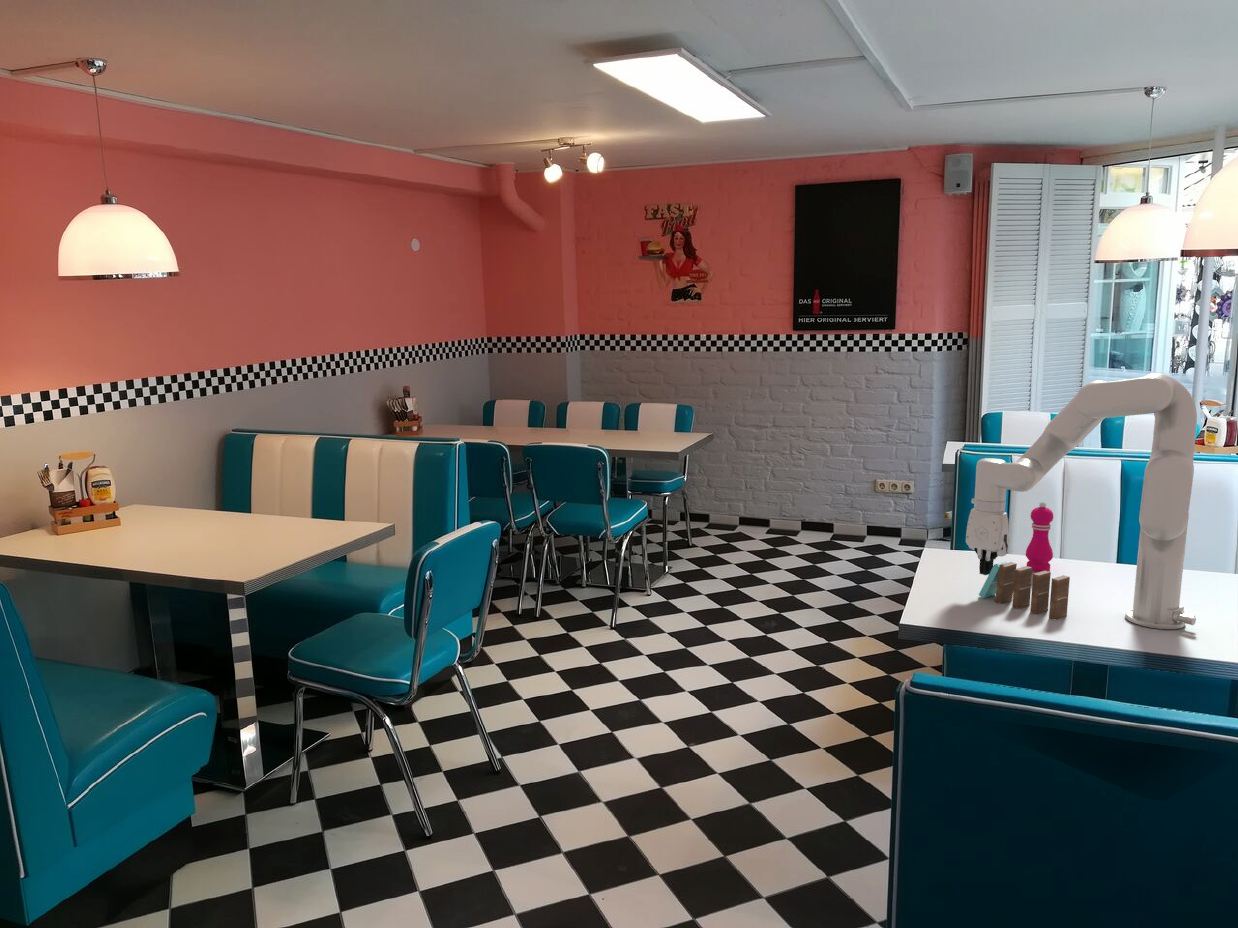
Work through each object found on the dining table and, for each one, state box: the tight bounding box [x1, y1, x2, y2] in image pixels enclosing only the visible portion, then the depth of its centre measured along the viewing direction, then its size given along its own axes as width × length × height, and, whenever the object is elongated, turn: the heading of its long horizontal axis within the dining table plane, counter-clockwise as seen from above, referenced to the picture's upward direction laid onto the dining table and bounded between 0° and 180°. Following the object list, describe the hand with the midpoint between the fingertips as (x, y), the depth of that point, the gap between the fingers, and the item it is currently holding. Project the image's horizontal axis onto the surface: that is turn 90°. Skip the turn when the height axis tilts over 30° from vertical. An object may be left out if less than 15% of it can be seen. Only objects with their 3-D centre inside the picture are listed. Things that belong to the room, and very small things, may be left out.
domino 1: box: [978, 561, 1008, 599], centre depth 239 cm, size 2×5×10 cm, turn 123°
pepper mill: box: [1025, 501, 1054, 573], centre depth 264 cm, size 7×7×20 cm
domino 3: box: [1011, 565, 1033, 610], centre depth 232 cm, size 2×5×10 cm, turn 123°
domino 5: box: [1048, 574, 1071, 620], centre depth 224 cm, size 2×5×10 cm, turn 123°
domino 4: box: [1029, 571, 1052, 615], centre depth 228 cm, size 2×5×10 cm, turn 123°
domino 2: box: [994, 561, 1018, 604], centre depth 236 cm, size 2×5×10 cm, turn 123°
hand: (985, 573), depth 241 cm, fingers closed
